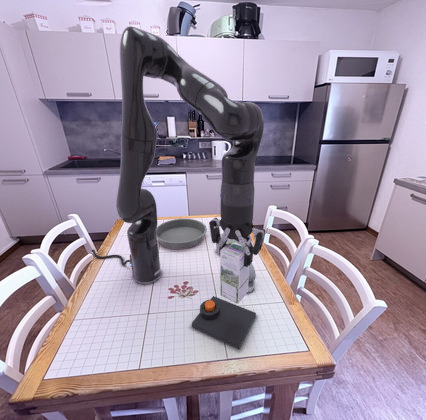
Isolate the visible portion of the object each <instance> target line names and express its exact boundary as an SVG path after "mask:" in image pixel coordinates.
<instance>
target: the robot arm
mask: <svg viewBox="0 0 426 420" xmlns="http://www.w3.org/2000/svg"><path fill="white" fill-rule="evenodd" d="M119 67H120V84H121V126H120V127H121V128H120V167H119V180H118V186H117V187H118V188H117V195H116V203H115V204H116V205H115V206H116V212H117V214H118V215H117V216H119V218H120V220H122V222H124V223H125V224H130V226H129V227H128V229H127V230H126V235H127V241H128V246H129V251H130V254H129V259H126V260H125V261H124V258H123V257H122V256H121V255H119V254H110V255H109V254H108V255H104V256H102V255H101V256H100V255H98V254H97V253H96V250H95V249H91V253H93V256H94V257H95V258H97V259H109V258H119V259H120V262H121V265H122V266H125V265H127V263H129V265H130V267H131V272H132V277H133V278H134V280H135V282H136V283H137V284H140V285H150V284H153V283H156V282H157V281H158V280H159V279H160V278H161V277H162V269H161V261H160V252H159V243H158V239H157V236H156V229H157V227H158V210H157V202H156V199H155V197H154V195H153V194H152V192H151V191H150V190H148V189H146V188H142V186H143V183H144V180H145V178H146V176H147V174H148V172H149V170H150V168H151V166H152V164H153V163H154V159H155V156H156V149H157V141H158V140H157V139H158V131H157V127H156V124H155V123H154V120H153V117H152V116H151V113H150V111H149V110H148V107H147V104H146V101H145V96H144V77H146V78H151V79H159V80H162V81H165V82H167V83H169V84H171V85H173V86H174V87H175V88H176V91H177V93H178V95H179V97H180V98H181V99H182V101H184V103H185V104H186V105H188V106H189V107H190V108H191V109H193V110H194V111H196V113H198V114H199V115H201V116H202V117H203V119H204V121H205V122H206V123H207V124H208V126H209V127H210V129H211V130H212V131H213V132H214V133H215V135H217V136H218V137H220V138H221V139H223V140H226V141H230V142H233V143H232V146H231V148H230V150H228V151H227V152H225V153H223V155H222V158H221V184H220V194H219V197H220V219H219V218H218V217H214V218H212V219H211V220H210V221H209V222H208V226H209V231H210V238H211V242H212V244H216V243H217V244H218V246H219V254H218V255H219V256H220V250H221V249H222V248H224V247H225V246H226V245H227V244H226V242H227V240H228V239H233V240H236V241H239V242H240V244H241V246H242V247H243V248H244V250H245V253H246V254H245V263H244V266H245V267H248V266H250V264H251V263H252V264H253V261H254V260H253V259H254V256H256V255H258V254H259V253H260V252H261V250H262V246H263V243H264V239H265V235H266V230H265V228H261V229H259V228H257V227H255V226H254V223H253V219H254V209H255V208H254V206H255V205H254V203H255V168H256V165H255V163H256V158H257V156H258V153H259V149H260V146H261V142H262V138H263V136H264V135H263V134H264V127H265V119H264V114H263V111H262V109H261V108H260V106H258V105H257V104H256V103H254V102H250V101H235V100H232V99H230V98H229V95H228V93H227V91H226V90H225V88H224V87H223V86H222V85H221V84H219V83H218V82H216V81H215V80H214V79H212V78H210V77H209V76H207V75H206V74H205V73H203V72H201V71H200V70H198V69H197V68H195V67H194V66H192V65H191V64H190V63H188V62H187V61H186V60H185V59H184V58H183V57H182V56H181V55H180V54H179V53H178V52H177V51H176V50H175V49H174V48H173V47H172V46H171V45H170V44H169V43H168V42H167V41H166V40H165V39H164V38H162V37H160V36H158V35H156V34H154V33H151V32H149V31H146V30H144V29H141V28H138V27H136V26H131V25H129V26H127V27H125V28H124V30H123V31H122V34H121V36H120V42H119ZM220 228H221V230H222V231H223V232H222V233H223V235H222V237H221V236H220V234H221V230H220ZM251 234H253V238H254V239H255V241H254V244H253V242H252V241H253V239H252V237H251Z"/></svg>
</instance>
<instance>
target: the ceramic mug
mask: <svg viewBox="0 0 426 420" xmlns="http://www.w3.org/2000/svg"><path fill="white" fill-rule="evenodd" d="M256 277H257V276H256V270H255V266H254V265H253V262H252V263H251V264H250V266H249V281H248V283H251V282H252V287H251V289H248V292H247V294H249V293H251V292H253V291H254V289H255V285H256V284H255V282H256V281H255V280H256Z"/></svg>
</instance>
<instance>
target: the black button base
mask: <svg viewBox="0 0 426 420" xmlns="http://www.w3.org/2000/svg"><path fill="white" fill-rule="evenodd" d="M209 300H211V301H214V302H215V309H214V310H213V311H212V312H208V311H206V310H205V303H206V302H207V301H209ZM256 316H257V312H255V311H254V310H253V311H252V310H251V309H247V308H245V307H242V306H240V305H238V304H236V303H235V304H234V303H232V302H230V301H227V300H224V299H222V298H219V297H218V296H214V295H212V297H211V298H210V299H206V300H204V301H202V302H201V304H200V305H199V313H198V315H197V316H196V317H195V318H194V320H192V322H191V328H192V329H194V330H197V331H199V332H201V333H203V334H205V335H208V336H210V337H211V338H213V339H215V340H218V341H220V342H222V343H224V344H226V345H229V346H230V347H233V348H235V349H237V350H241V347H242V345H243V343H244V341H245V339H246V337H247V335H248V333H249V332H250V329H251V328H252V325H253V324H254V321H255V319H256Z"/></svg>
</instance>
